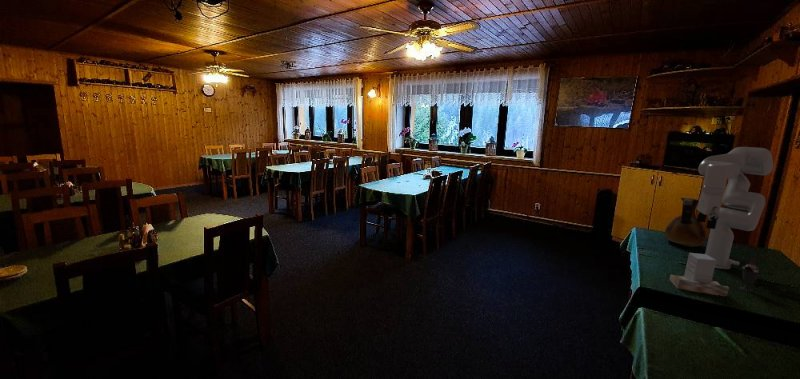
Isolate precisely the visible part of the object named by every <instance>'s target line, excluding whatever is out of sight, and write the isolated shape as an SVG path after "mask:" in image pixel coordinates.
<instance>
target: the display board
mask: <svg viewBox="0 0 800 379" xmlns="http://www.w3.org/2000/svg"><path fill="white" fill-rule="evenodd" d="M669 276H670V277H669V280H670V282H671V283H672V284H673V285H674V287H675V288H676V289H678V290H684V291H689V292H695V293H703V294H707V295H708V294H709V295H715V296H719V295H720V296H721V297H725V296H726V297H728V293H729V289H730V287H729V286H727V285H721V284H720V283H719V282H718V281H714V280H712V282H711V284H709V283H703V282H696V281H690V280H687V279H686V278H685V277H684V275H682V276H681V275H676V274H675V275H674V274H670V275H669Z"/></svg>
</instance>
